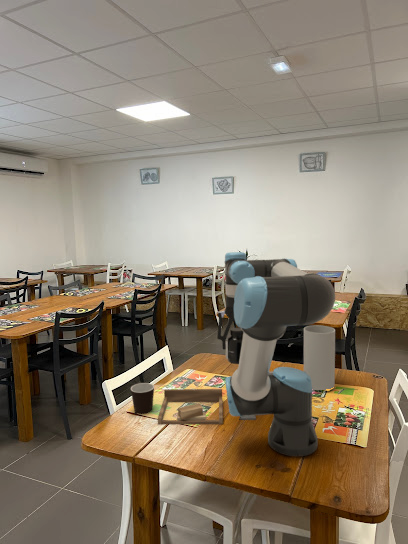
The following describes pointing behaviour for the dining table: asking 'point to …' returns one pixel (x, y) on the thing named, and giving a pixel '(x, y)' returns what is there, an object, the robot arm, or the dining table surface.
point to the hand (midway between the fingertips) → (237, 357)
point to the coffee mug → (142, 397)
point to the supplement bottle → (235, 345)
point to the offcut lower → (202, 417)
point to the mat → (248, 418)
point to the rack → (191, 396)
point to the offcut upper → (190, 411)
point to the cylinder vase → (320, 356)
